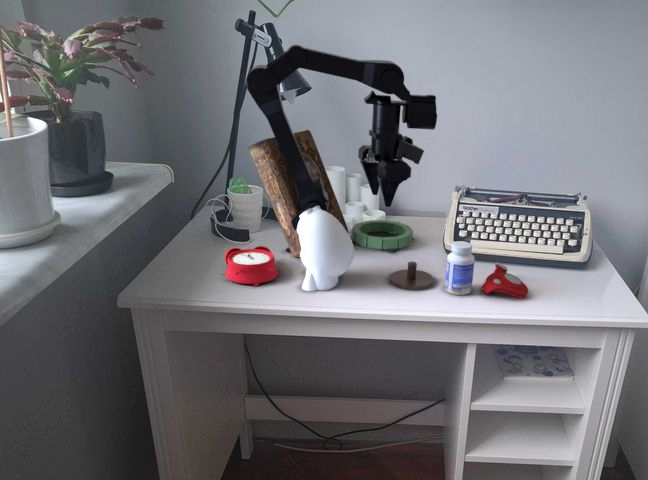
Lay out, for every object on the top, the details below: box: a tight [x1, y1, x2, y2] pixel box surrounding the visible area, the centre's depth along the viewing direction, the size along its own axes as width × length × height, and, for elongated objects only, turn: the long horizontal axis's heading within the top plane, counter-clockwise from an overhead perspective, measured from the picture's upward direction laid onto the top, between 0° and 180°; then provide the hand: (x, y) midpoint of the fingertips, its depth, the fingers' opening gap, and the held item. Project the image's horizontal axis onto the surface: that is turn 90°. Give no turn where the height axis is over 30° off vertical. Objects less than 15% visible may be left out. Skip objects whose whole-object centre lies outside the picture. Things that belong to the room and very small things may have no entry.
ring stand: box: [388, 261, 435, 291], centre depth 129 cm, size 9×9×4 cm
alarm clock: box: [224, 245, 279, 287], centre depth 129 cm, size 10×6×15 cm
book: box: [248, 129, 349, 258], centre depth 142 cm, size 16×6×25 cm, turn 150°
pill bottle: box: [444, 240, 476, 296], centre depth 125 cm, size 5×5×10 cm
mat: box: [352, 231, 415, 254], centre depth 150 cm, size 11×11×1 cm
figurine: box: [297, 206, 355, 292], centre depth 125 cm, size 11×11×15 cm
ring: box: [351, 219, 414, 250], centre depth 150 cm, size 14×14×2 cm
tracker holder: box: [480, 261, 529, 299], centre depth 128 cm, size 12×4×10 cm
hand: (381, 200), depth 140 cm, fingers open, 9 cm apart
